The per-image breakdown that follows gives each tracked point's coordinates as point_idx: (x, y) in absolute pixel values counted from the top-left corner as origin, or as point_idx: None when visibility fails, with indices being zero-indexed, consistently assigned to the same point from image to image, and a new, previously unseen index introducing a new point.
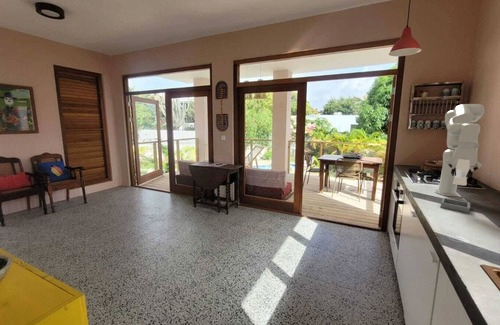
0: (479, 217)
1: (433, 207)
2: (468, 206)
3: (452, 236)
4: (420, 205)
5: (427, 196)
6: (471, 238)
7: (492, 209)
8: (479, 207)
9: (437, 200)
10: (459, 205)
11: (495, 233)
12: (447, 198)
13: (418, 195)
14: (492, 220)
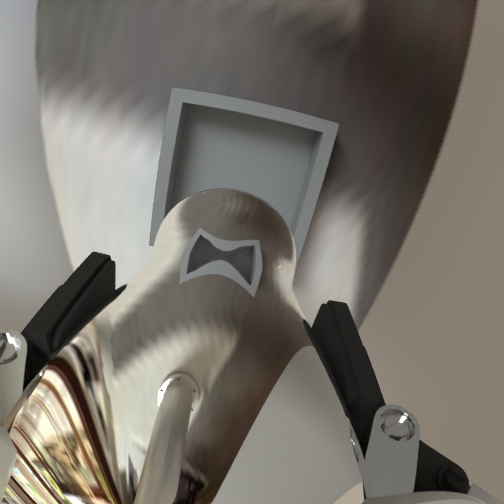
0: (322, 293)
1: (127, 253)
2: (299, 234)
3: None
4: (75, 256)
5: (110, 6)
6: None
7: (447, 92)
8: (394, 81)
9: (157, 62)
10: (274, 129)
11: None
12: (200, 92)
13: (62, 28)
14: (364, 303)
